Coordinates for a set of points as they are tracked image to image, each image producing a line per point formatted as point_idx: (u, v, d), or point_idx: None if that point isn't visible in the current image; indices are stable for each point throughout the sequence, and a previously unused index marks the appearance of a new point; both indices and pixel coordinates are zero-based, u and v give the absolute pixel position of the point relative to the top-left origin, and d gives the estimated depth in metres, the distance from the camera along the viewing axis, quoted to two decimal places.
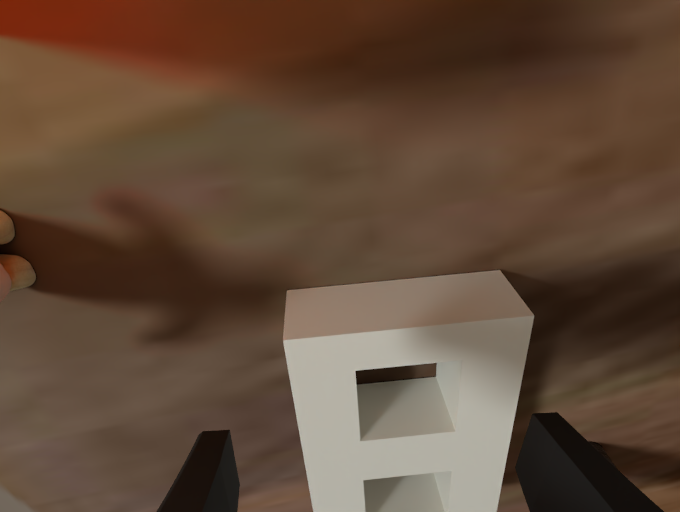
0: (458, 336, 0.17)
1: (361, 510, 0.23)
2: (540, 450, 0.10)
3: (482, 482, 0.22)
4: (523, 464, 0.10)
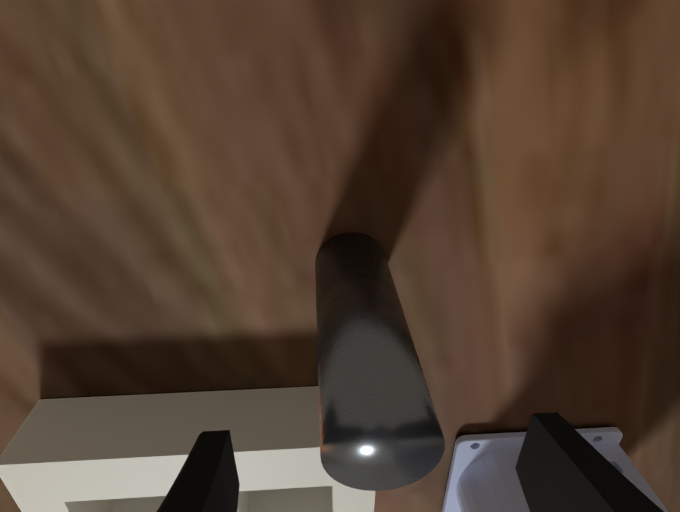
0: (35, 507, 0.19)
1: None
2: (540, 450, 0.10)
3: (259, 466, 0.19)
4: (523, 464, 0.10)
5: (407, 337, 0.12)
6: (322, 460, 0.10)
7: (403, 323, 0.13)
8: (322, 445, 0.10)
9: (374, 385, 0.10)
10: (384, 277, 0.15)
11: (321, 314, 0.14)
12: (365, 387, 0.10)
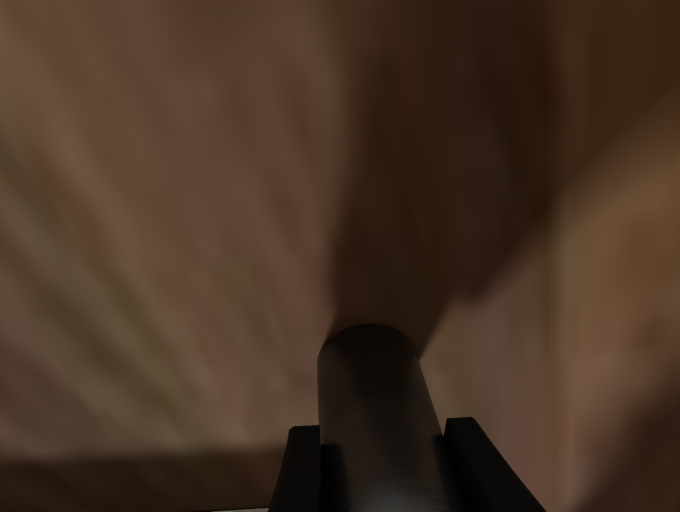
0: None
1: None
2: (452, 455, 0.10)
3: None
4: None
5: None
6: None
7: None
8: None
9: None
10: (424, 417, 0.10)
11: (328, 492, 0.09)
12: None
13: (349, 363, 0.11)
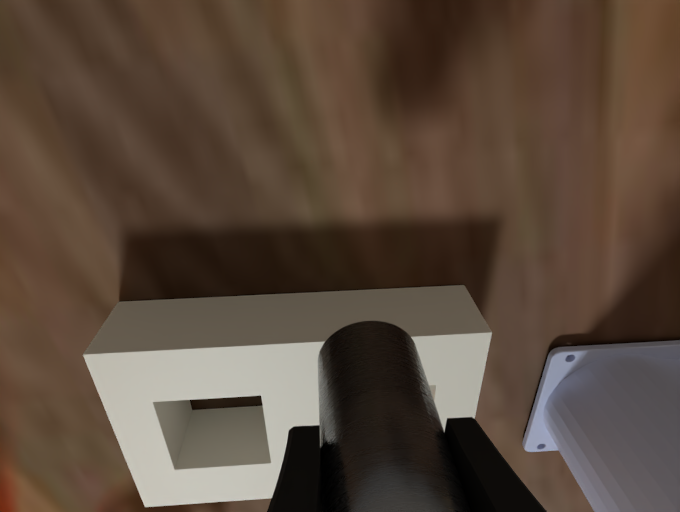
0: (122, 408, 0.18)
1: None
2: (452, 455, 0.10)
3: None
4: None
5: None
6: None
7: None
8: None
9: None
10: (427, 414, 0.10)
11: (330, 486, 0.09)
12: None
13: (352, 359, 0.11)
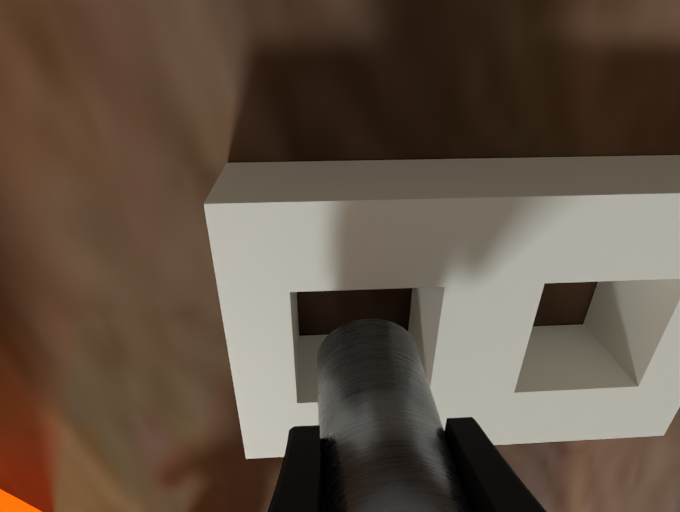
0: (244, 300, 0.12)
1: (584, 393, 0.15)
2: (452, 455, 0.10)
3: (603, 230, 0.12)
4: None
5: None
6: None
7: None
8: None
9: None
10: (429, 413, 0.10)
11: (331, 482, 0.08)
12: None
13: (354, 355, 0.11)
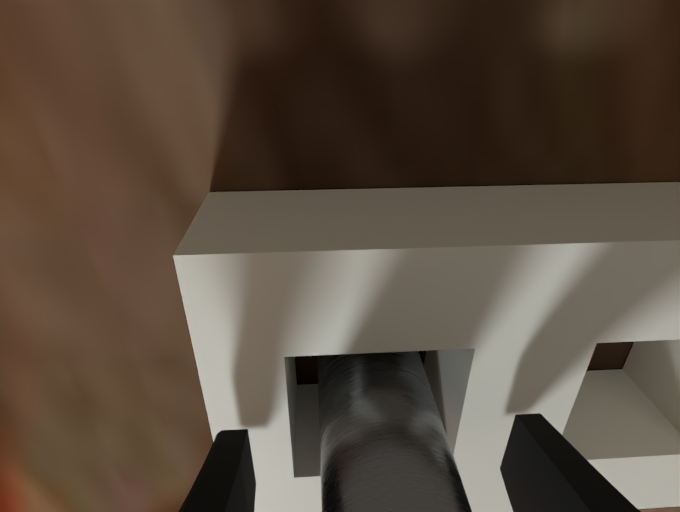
0: (228, 367, 0.10)
1: (633, 462, 0.13)
2: (523, 451, 0.10)
3: (674, 282, 0.10)
4: (507, 465, 0.10)
5: (458, 480, 0.08)
6: None
7: (448, 450, 0.09)
8: None
9: None
10: (415, 366, 0.11)
11: (329, 420, 0.10)
12: None
13: None
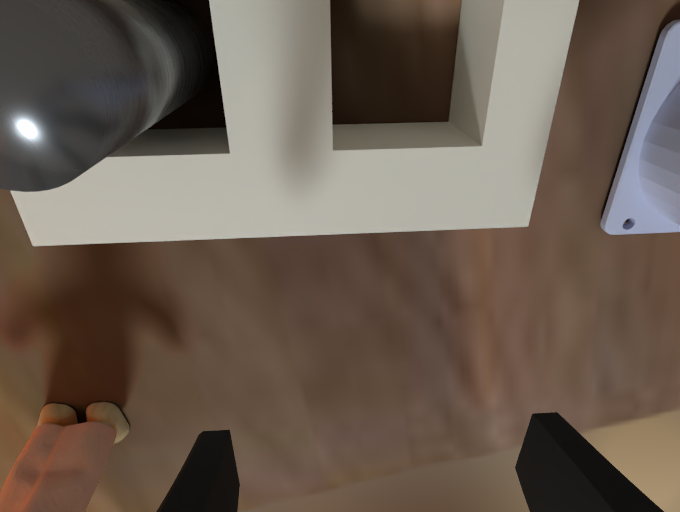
0: None
1: (418, 156, 0.13)
2: (540, 450, 0.10)
3: None
4: (523, 464, 0.10)
5: (136, 25, 0.09)
6: None
7: (148, 26, 0.09)
8: None
9: None
10: (165, 12, 0.11)
11: None
12: None
13: None
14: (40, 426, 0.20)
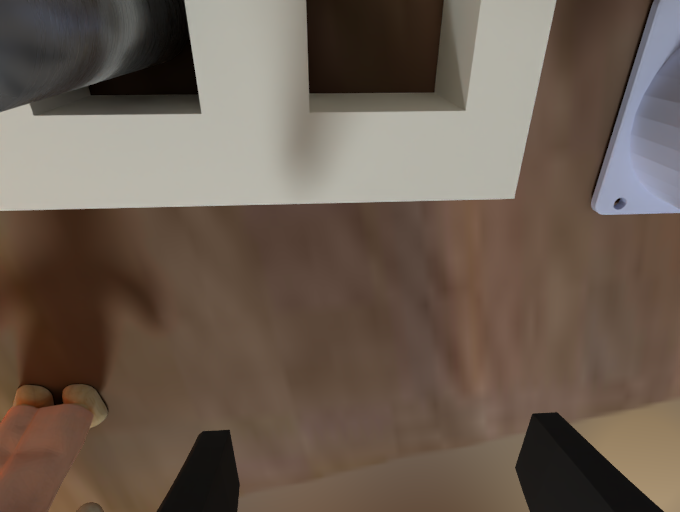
0: None
1: (399, 120, 0.12)
2: (540, 450, 0.10)
3: None
4: (523, 464, 0.10)
5: None
6: None
7: None
8: None
9: None
10: None
11: None
12: None
13: None
14: (14, 407, 0.20)
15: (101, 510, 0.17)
